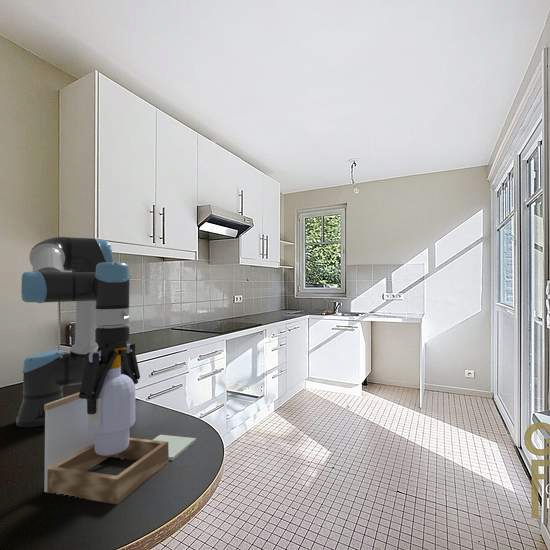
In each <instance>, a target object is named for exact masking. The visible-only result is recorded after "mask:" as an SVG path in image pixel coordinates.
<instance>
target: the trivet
mask: <svg viewBox="0 0 550 550" xmlns="http://www.w3.org/2000/svg"><path fill="white" fill-rule="evenodd" d="M152 440H156V441H165V442H168V450H169V461H174V460H176V459H177V458H178V457H179V456H181V455H182V454H183V453H184V452H185V451H186V450H187V449H189V448H190V447H191V446H192V445H193V444H195V443H196V442H197V438H196V437H188V436H187V437H185V436H178V435H177V436H176V435H168V434H167V435H166V434H159V435H157V436H156V437H154V438H153V439H152ZM195 441H196V442H195Z"/></svg>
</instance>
